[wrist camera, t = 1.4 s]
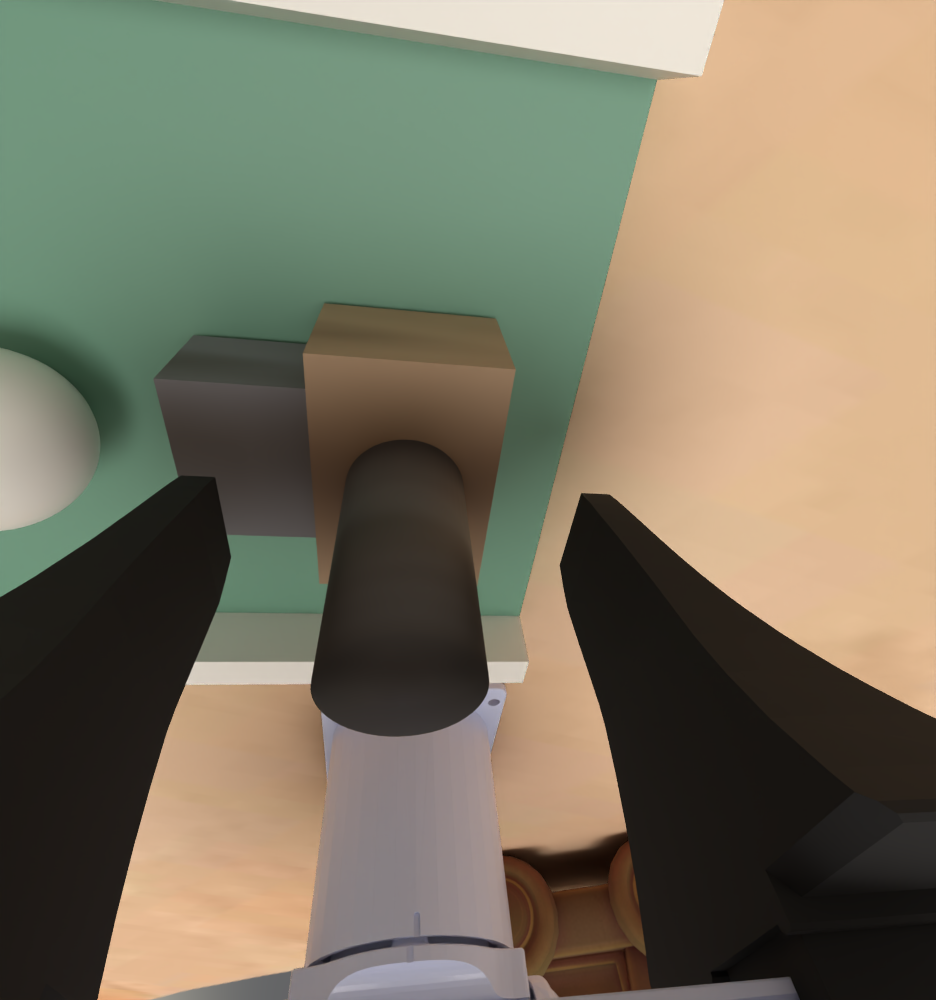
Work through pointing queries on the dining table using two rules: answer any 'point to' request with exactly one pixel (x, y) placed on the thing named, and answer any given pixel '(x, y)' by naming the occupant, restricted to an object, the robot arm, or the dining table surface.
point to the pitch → (315, 231)
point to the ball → (41, 441)
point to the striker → (363, 490)
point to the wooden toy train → (579, 929)
